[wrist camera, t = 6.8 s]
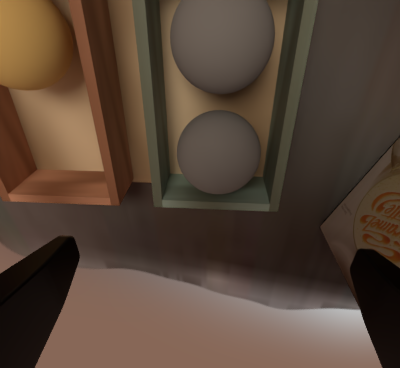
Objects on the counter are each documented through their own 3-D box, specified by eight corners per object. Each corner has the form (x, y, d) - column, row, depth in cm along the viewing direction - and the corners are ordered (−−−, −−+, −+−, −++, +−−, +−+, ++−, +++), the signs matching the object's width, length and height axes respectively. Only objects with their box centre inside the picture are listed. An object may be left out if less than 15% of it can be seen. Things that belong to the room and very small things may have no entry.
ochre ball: (77, -19, 13) (18, -32, 9) (95, 80, 15) (55, 103, 11) (-14, -19, 13) (-108, -31, 9) (19, 79, 15) (-46, 100, 12)
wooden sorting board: (353, -390, 8) (447, -670, 5) (266, 178, 19) (277, 215, 15) (-142, -356, 9) (-358, -575, 6) (41, 171, 20) (4, 204, 16)
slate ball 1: (272, -19, 12) (295, -33, 9) (260, 83, 15) (274, 107, 11) (175, -19, 13) (156, -32, 9) (178, 81, 15) (165, 105, 11)
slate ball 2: (258, 100, 15) (274, 128, 11) (250, 169, 18) (261, 212, 14) (179, 99, 15) (169, 127, 12) (182, 168, 18) (174, 210, 14)
